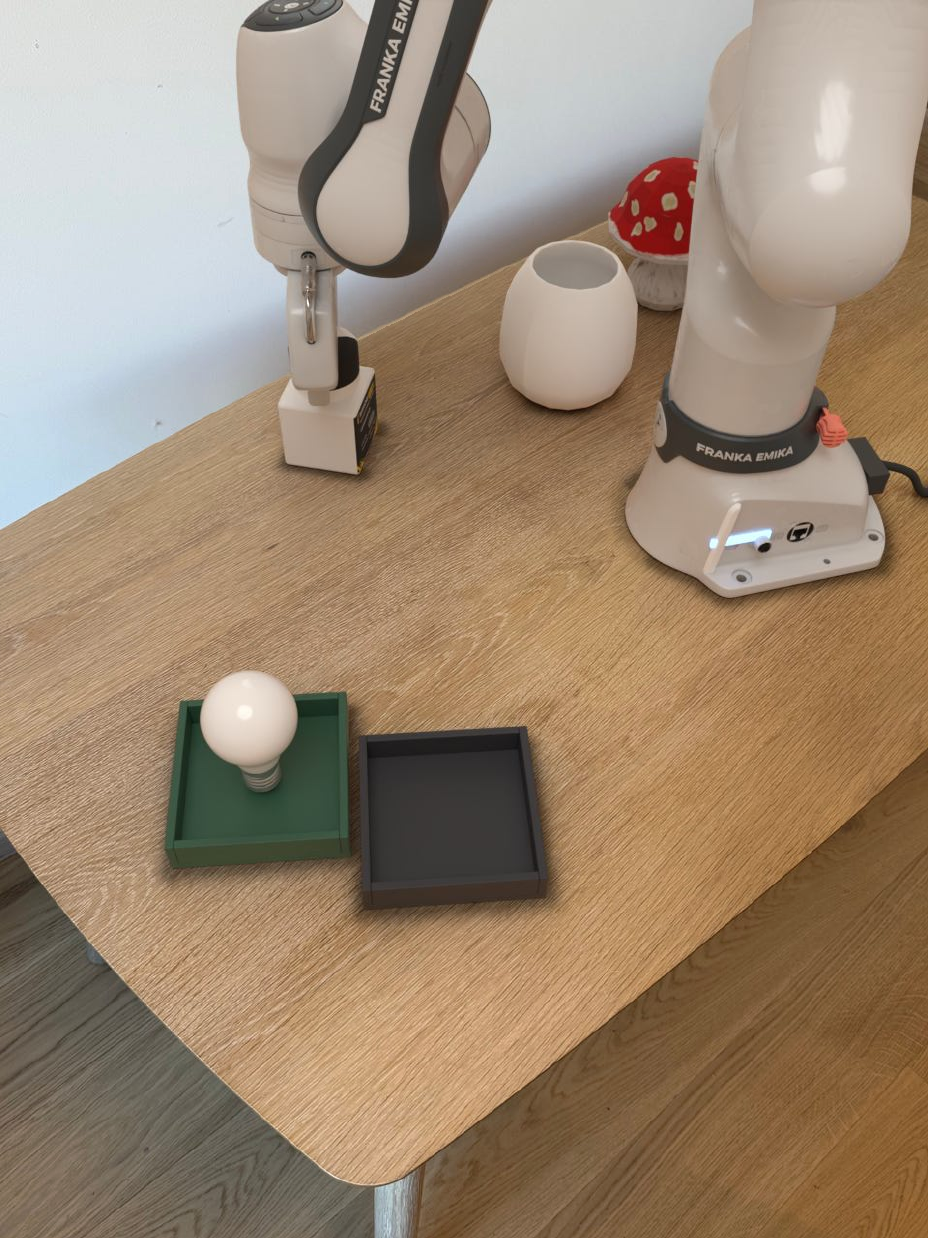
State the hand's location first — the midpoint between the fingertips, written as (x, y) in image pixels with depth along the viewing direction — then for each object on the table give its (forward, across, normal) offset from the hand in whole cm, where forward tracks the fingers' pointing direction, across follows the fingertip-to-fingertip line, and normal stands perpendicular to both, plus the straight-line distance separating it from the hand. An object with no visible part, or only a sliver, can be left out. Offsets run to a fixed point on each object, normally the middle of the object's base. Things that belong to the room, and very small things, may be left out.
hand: (319, 366), depth 97 cm
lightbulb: (+9, -37, +4) cm, 38 cm away
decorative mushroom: (+8, +23, -37) cm, 44 cm away
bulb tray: (+9, -37, +4) cm, 39 cm away
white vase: (+9, +8, -24) cm, 26 cm away
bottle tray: (+9, -41, -9) cm, 43 cm away
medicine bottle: (+9, 0, -1) cm, 9 cm away
